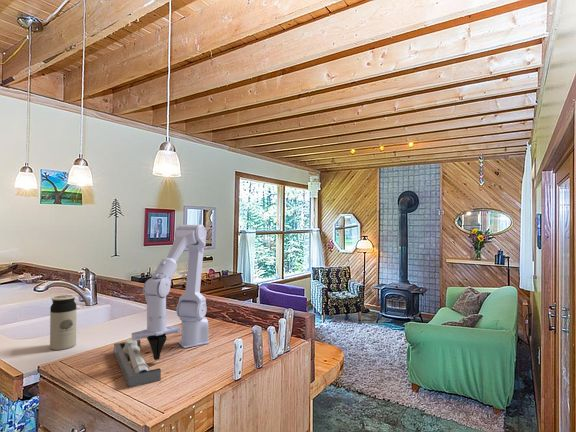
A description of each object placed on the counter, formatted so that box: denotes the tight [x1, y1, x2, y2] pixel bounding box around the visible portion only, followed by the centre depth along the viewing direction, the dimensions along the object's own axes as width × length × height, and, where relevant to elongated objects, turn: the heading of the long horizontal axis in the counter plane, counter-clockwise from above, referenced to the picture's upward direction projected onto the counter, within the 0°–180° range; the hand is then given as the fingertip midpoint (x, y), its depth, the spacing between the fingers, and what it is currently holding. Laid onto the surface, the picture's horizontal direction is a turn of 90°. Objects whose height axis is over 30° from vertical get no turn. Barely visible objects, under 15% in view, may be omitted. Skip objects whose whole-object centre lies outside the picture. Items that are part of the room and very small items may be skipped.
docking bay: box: [113, 339, 162, 389], centre depth 112 cm, size 8×31×3 cm, turn 33°
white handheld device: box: [122, 337, 150, 374], centre depth 111 cm, size 5×7×25 cm
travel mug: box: [49, 294, 77, 351], centre depth 129 cm, size 8×8×18 cm
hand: (156, 358), depth 114 cm, fingers closed
